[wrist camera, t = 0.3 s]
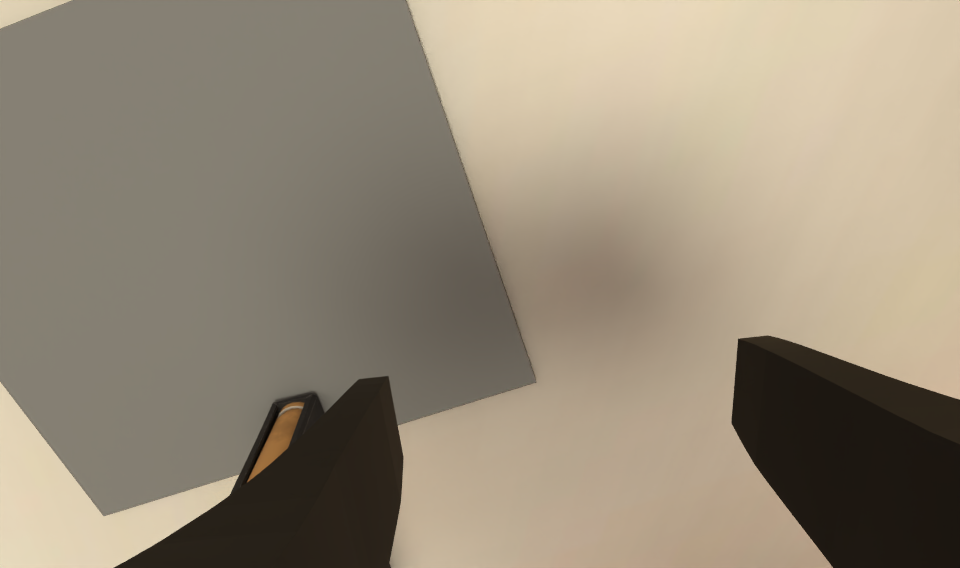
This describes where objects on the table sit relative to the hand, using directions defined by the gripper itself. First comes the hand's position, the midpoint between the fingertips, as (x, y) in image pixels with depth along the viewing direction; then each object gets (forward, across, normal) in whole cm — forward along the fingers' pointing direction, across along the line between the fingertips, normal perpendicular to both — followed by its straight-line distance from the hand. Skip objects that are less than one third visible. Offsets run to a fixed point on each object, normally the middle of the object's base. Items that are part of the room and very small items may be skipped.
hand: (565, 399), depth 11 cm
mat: (+10, +11, -1) cm, 15 cm away
